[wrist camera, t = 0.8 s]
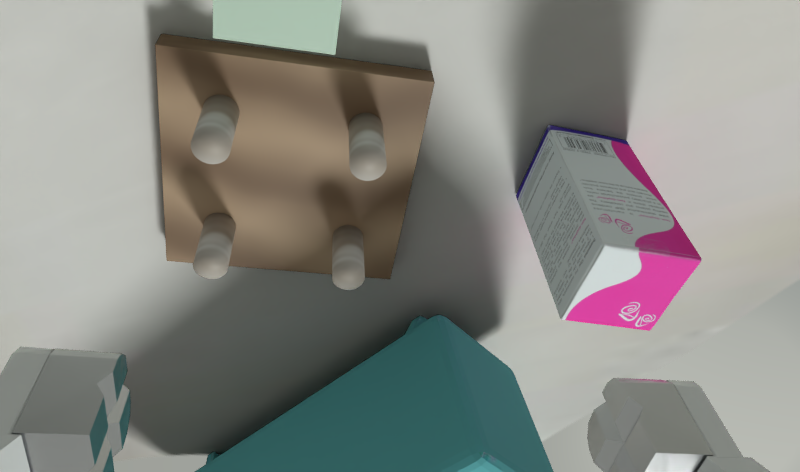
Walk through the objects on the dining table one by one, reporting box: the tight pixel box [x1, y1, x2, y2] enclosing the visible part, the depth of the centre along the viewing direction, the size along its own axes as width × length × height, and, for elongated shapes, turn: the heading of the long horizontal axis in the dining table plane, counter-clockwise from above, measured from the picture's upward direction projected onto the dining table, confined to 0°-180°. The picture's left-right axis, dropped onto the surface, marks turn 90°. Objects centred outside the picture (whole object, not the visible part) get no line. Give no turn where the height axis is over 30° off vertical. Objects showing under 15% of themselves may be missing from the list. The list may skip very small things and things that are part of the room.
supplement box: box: [516, 125, 701, 330], centre depth 39 cm, size 6×6×12 cm
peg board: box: [155, 34, 434, 290], centre depth 39 cm, size 15×15×6 cm
